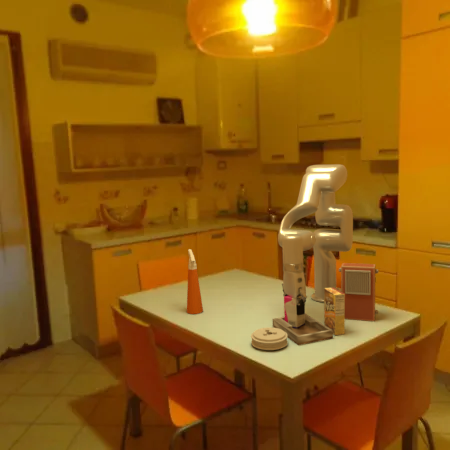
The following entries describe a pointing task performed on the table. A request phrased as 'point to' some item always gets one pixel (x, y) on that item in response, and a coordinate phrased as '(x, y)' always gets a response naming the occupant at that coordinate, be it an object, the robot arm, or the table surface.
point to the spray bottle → (193, 287)
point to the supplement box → (292, 313)
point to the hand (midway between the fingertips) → (294, 310)
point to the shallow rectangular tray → (304, 330)
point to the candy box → (334, 310)
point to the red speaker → (359, 290)
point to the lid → (269, 338)
